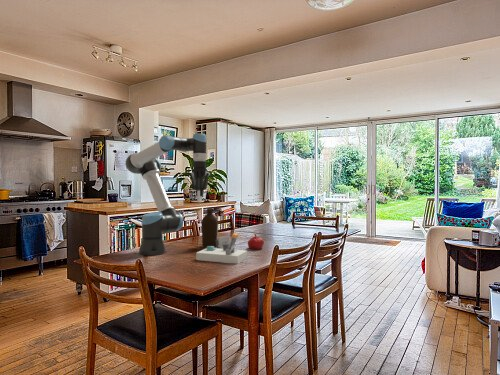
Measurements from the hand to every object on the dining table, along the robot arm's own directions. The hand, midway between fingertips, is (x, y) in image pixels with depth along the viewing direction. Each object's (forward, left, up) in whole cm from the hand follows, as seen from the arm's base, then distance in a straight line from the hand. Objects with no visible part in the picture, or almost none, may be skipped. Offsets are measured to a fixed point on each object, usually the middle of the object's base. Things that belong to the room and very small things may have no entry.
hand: (199, 201), depth 195 cm
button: (+9, -4, -30) cm, 31 cm away
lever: (+23, -9, -25) cm, 35 cm away
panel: (+17, -6, -30) cm, 35 cm away
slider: (+17, -2, -26) cm, 32 cm away
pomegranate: (+25, +27, -31) cm, 48 cm away
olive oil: (-5, +23, -31) cm, 39 cm away
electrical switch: (+10, +11, -31) cm, 34 cm away
